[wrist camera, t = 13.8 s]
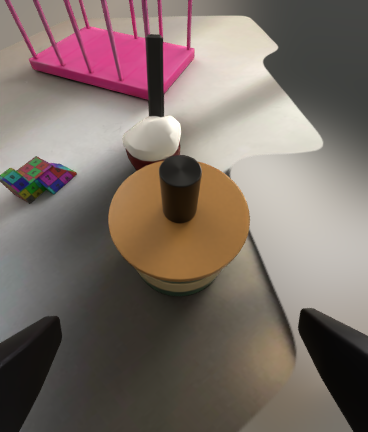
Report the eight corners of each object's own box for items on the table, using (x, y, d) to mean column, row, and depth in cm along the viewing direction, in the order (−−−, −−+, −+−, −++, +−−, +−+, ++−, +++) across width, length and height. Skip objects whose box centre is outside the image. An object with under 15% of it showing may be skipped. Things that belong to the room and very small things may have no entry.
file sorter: (157, 104, 35) (144, -48, 21) (33, 71, 39) (-43, -73, 26) (194, 58, 43) (202, -71, 30) (89, 35, 48) (54, -87, 34)
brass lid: (272, 260, 14) (308, 227, 10) (118, 301, 13) (91, 281, 9) (219, 155, 19) (231, 106, 15) (105, 175, 17) (84, 126, 14)
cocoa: (158, 200, 25) (145, 97, 15) (115, 179, 26) (75, 73, 16) (195, 151, 29) (205, 46, 19) (156, 135, 31) (146, 30, 20)
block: (37, 208, 24) (18, 189, 21) (13, 193, 25) (-9, 173, 22) (77, 174, 27) (64, 153, 24) (53, 161, 28) (38, 139, 25)
